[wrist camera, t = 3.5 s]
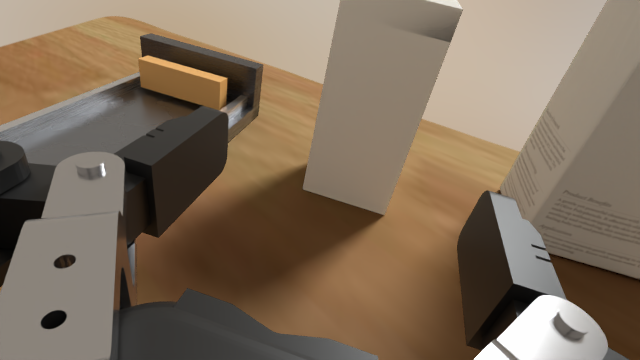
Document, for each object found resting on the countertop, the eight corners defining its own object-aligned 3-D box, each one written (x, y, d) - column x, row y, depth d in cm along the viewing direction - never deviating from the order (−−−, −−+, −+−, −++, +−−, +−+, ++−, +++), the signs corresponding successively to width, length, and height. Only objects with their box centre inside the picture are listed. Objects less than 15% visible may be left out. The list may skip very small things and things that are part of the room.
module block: (390, 179, 24) (456, 0, 18) (384, 215, 20) (462, 9, 14) (319, 158, 24) (359, -24, 18) (302, 189, 21) (344, -20, 15)
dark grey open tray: (258, 115, 28) (263, 64, 26) (121, 239, 15) (108, 162, 13) (154, 84, 29) (150, 33, 27) (-52, 178, 16) (-91, 97, 14)
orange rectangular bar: (226, 105, 25) (227, 78, 24) (219, 110, 24) (220, 82, 23) (150, 83, 26) (147, 55, 25) (141, 87, 25) (138, 58, 24)
